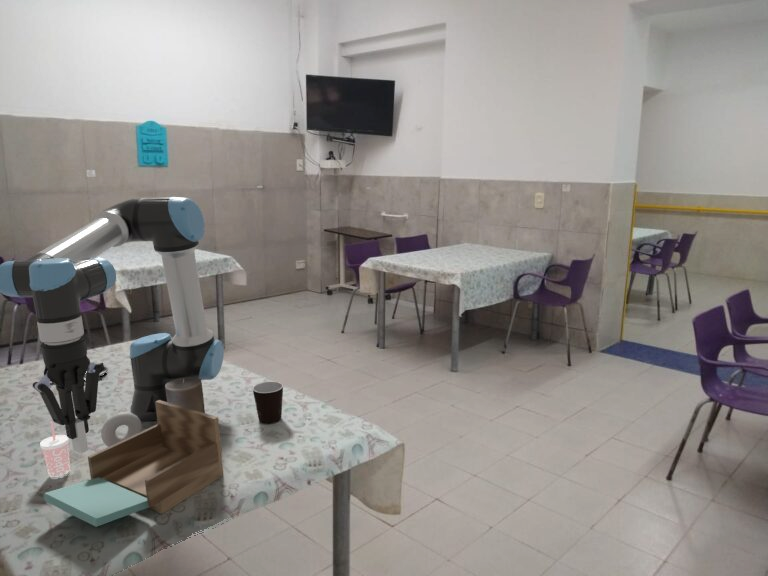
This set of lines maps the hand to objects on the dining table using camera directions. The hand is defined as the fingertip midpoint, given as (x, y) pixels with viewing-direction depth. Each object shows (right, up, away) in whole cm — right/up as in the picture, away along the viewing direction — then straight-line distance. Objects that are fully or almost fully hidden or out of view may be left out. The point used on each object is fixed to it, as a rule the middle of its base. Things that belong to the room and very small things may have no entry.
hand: (80, 450), depth 115 cm
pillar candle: (+6, -7, +45) cm, 46 cm away
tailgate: (+4, -12, +9) cm, 16 cm away
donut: (-7, -10, +35) cm, 37 cm away
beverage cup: (-17, -13, +23) cm, 31 cm away
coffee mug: (+29, -5, +51) cm, 59 cm away
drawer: (+9, -13, +18) cm, 24 cm away
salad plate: (-47, +1, +89) cm, 100 cm away
